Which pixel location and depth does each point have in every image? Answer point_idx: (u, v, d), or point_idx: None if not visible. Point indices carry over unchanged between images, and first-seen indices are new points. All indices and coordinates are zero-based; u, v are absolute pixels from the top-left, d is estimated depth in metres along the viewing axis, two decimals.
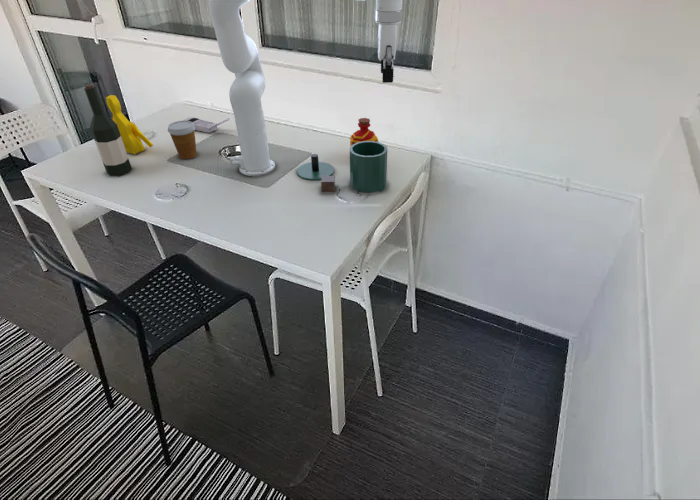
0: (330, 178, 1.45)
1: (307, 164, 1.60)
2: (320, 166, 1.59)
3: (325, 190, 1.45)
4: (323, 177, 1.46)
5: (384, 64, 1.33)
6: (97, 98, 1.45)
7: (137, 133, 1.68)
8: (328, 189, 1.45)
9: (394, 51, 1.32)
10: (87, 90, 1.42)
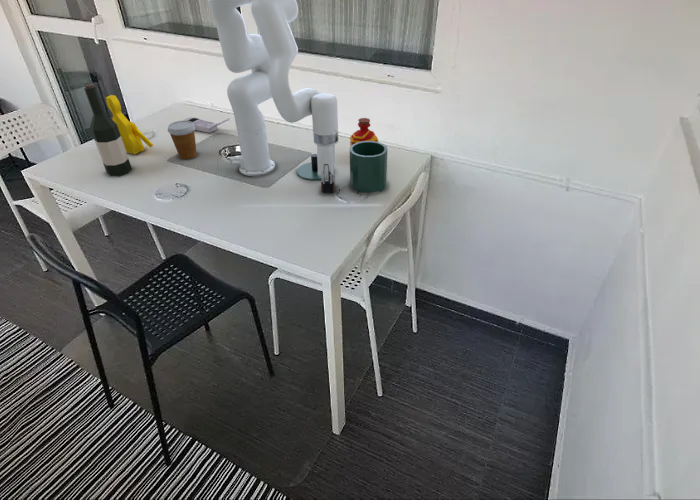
0: None
1: (307, 164, 1.60)
2: None
3: None
4: None
5: (323, 180, 1.41)
6: (97, 98, 1.45)
7: (137, 133, 1.68)
8: None
9: (331, 168, 1.37)
10: (87, 90, 1.42)
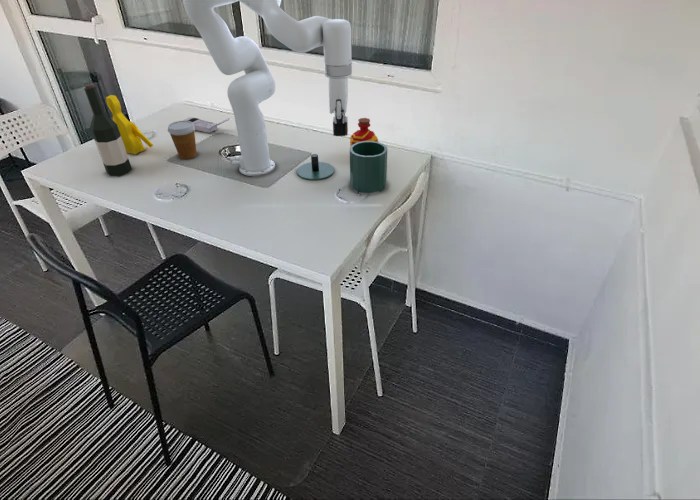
0: None
1: (307, 164, 1.60)
2: (320, 166, 1.59)
3: None
4: None
5: (335, 119, 1.31)
6: (97, 98, 1.45)
7: (137, 133, 1.68)
8: None
9: (344, 104, 1.26)
10: (87, 90, 1.42)
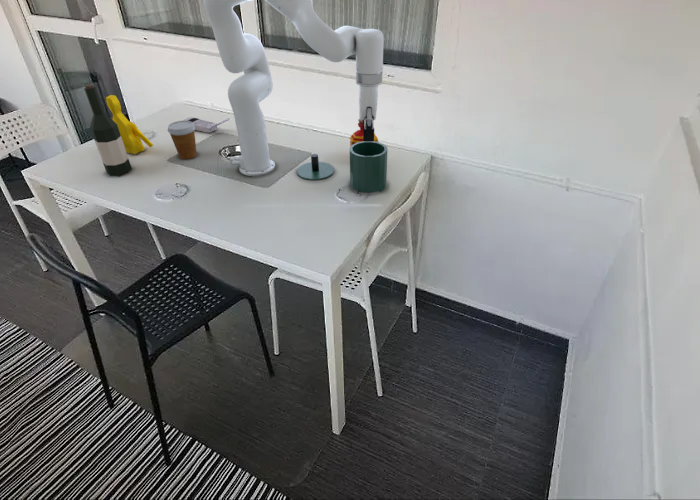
0: None
1: (307, 164, 1.60)
2: (320, 166, 1.59)
3: None
4: None
5: (365, 124, 1.31)
6: (97, 98, 1.45)
7: (137, 133, 1.68)
8: None
9: (374, 112, 1.30)
10: (87, 90, 1.42)
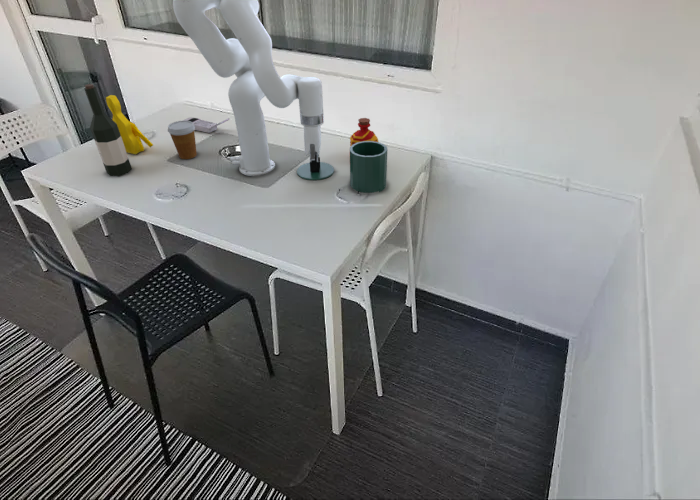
0: None
1: (307, 164, 1.60)
2: (320, 166, 1.59)
3: None
4: None
5: (310, 159, 1.51)
6: (97, 98, 1.45)
7: (137, 133, 1.68)
8: None
9: (317, 148, 1.46)
10: (87, 90, 1.42)
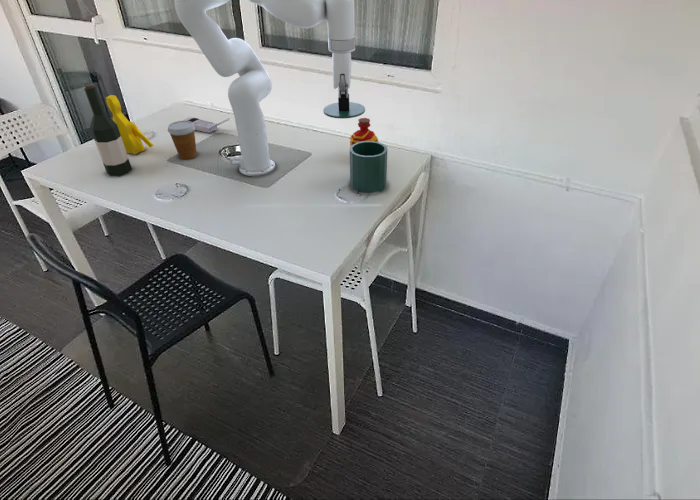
0: None
1: (334, 104, 1.42)
2: (349, 105, 1.40)
3: None
4: None
5: (339, 95, 1.33)
6: (97, 98, 1.45)
7: (137, 133, 1.68)
8: None
9: (348, 79, 1.28)
10: (87, 90, 1.42)
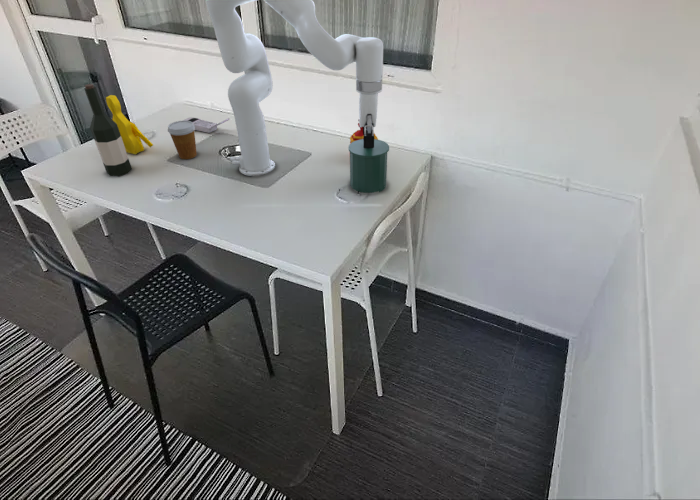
0: None
1: (358, 141, 1.45)
2: None
3: None
4: None
5: (365, 131, 1.33)
6: (97, 98, 1.45)
7: (137, 133, 1.68)
8: None
9: (374, 119, 1.31)
10: (87, 90, 1.42)
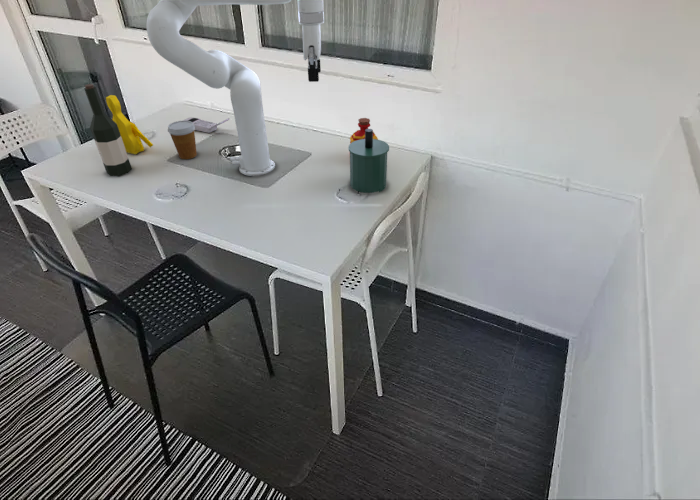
0: None
1: (358, 141, 1.45)
2: (373, 143, 1.44)
3: None
4: None
5: (308, 64, 1.38)
6: (97, 98, 1.45)
7: (137, 133, 1.68)
8: None
9: (317, 51, 1.36)
10: (87, 90, 1.42)
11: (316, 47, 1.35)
